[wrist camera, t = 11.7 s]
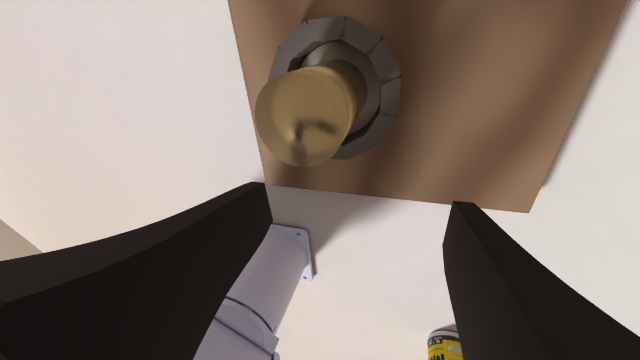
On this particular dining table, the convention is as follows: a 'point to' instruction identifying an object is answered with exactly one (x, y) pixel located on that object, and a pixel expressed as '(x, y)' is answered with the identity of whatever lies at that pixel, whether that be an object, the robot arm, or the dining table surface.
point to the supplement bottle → (444, 346)
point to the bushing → (310, 111)
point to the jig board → (435, 89)
